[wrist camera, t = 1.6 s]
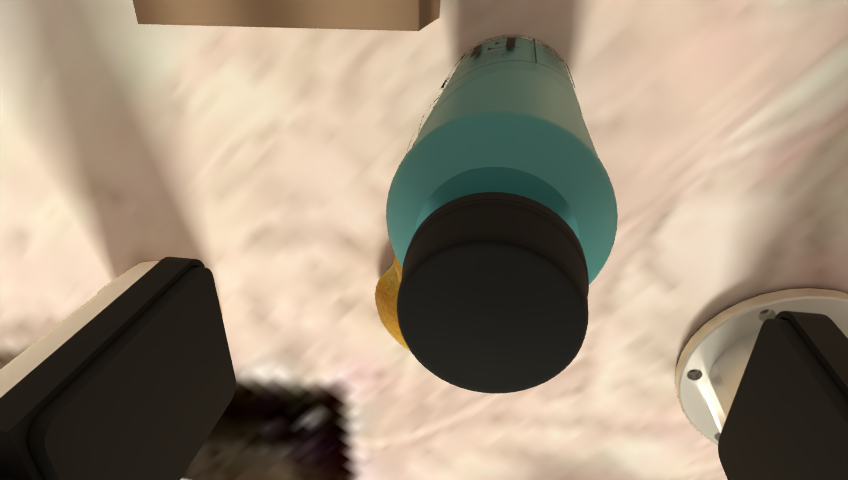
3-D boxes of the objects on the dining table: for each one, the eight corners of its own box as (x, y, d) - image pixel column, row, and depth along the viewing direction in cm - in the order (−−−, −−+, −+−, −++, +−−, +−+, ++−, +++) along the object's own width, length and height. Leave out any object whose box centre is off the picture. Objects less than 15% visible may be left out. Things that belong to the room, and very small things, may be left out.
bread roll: (364, 304, 36) (347, 341, 32) (424, 200, 32) (411, 230, 28) (470, 360, 37) (464, 402, 33) (543, 265, 32) (545, 302, 29)
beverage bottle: (527, 0, 26) (534, 84, 8) (599, 111, 27) (731, 376, 10) (422, 82, 28) (258, 280, 11) (494, 179, 30) (454, 482, 13)
